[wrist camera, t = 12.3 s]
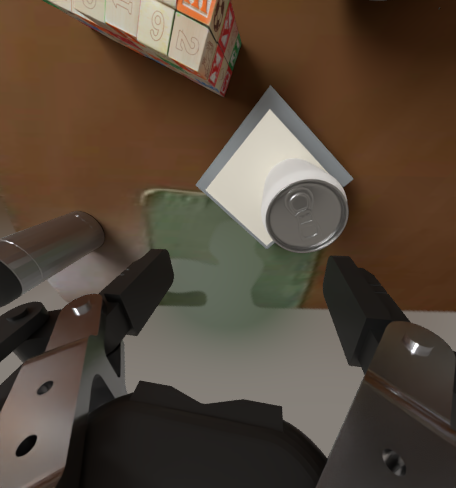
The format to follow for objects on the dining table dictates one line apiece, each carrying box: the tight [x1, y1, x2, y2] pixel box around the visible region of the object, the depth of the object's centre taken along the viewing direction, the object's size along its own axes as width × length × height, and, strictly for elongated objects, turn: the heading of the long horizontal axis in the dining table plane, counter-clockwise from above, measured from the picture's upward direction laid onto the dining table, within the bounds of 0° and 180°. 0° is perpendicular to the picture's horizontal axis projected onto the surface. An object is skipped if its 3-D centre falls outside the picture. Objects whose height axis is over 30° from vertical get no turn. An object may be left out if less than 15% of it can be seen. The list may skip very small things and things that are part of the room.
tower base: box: [196, 85, 353, 249], centre depth 28 cm, size 16×16×8 cm
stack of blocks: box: [43, 0, 241, 97], centre depth 21 cm, size 21×6×12 cm, turn 66°
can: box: [261, 158, 348, 253], centre depth 19 cm, size 6×6×12 cm
